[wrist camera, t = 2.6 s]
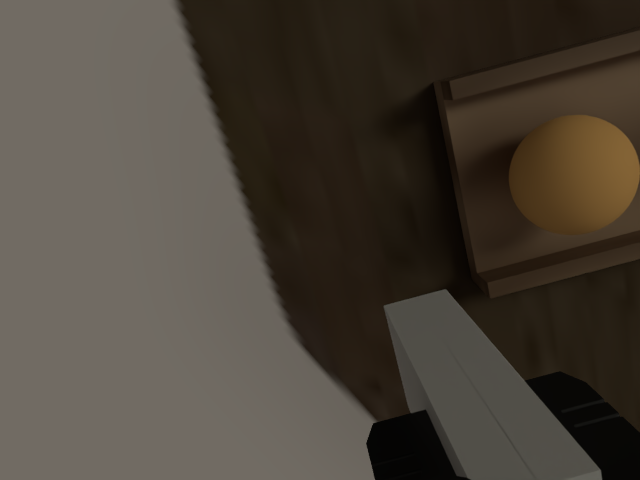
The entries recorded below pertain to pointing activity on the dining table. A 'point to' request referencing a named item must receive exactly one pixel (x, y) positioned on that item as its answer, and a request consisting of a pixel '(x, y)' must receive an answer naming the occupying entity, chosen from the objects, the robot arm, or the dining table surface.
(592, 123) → the ball
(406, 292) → the dining table surface
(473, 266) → the lane
